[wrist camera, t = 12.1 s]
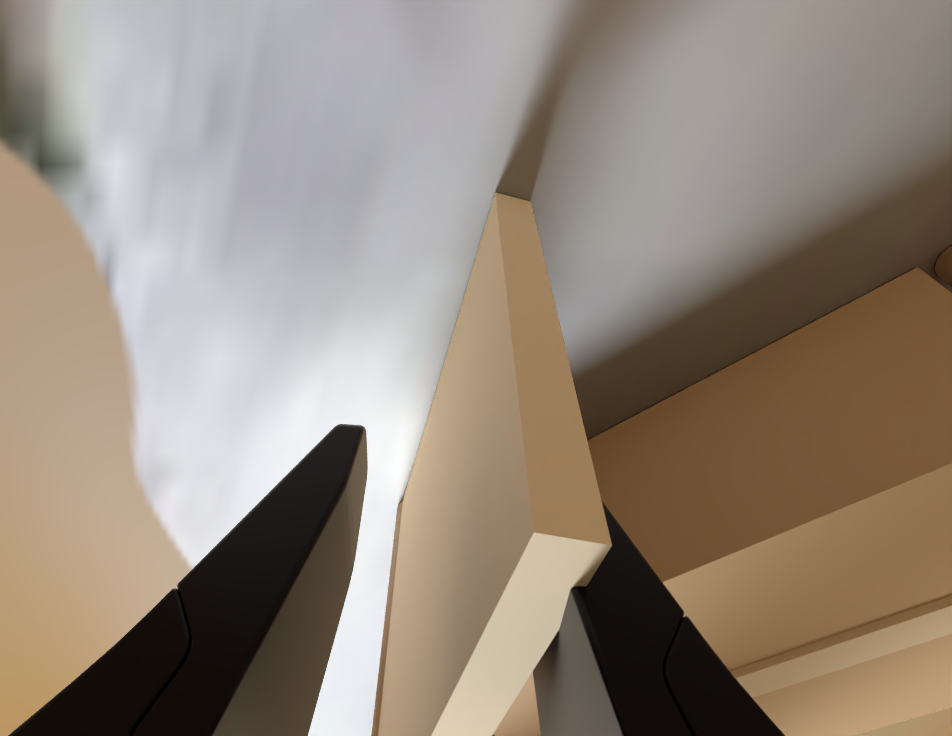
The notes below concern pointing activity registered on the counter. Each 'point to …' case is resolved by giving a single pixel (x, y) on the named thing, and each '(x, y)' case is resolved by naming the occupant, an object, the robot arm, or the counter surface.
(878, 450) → the carton
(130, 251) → the counter surface
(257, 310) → the counter surface
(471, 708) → the side flap
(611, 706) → the robot arm
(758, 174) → the counter surface
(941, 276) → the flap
